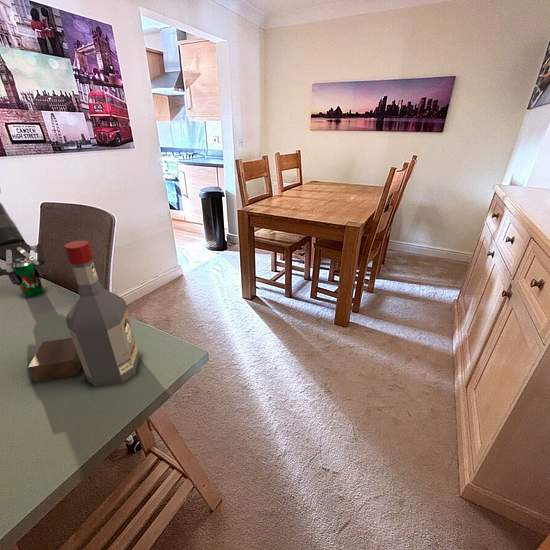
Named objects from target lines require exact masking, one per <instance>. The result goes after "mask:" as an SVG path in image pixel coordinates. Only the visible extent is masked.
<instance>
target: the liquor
mask: <svg viewBox="0 0 550 550" xmlns="http://www.w3.org/2000/svg"><path fill="white" fill-rule="evenodd" d="M64 250H65V253H66V256H67V259H68V262H69V264H70V265H71V269H72V271H73V274H74V277H75V281H76V284H77V288H78V290H77V293H78V296H77V298H76V300H75V301H74V303H73V304H72V306H71V307H70V309H69V311H68V312H67V314H66V318H65V324H66V326H67V328H68V331H69V333H70V338H72V339H73V342H74V345H75V347H76V350H77V353H78V356H79V358H80V361H81V364H82V369H83V372H84V374H85V377H86V379H87V381H88V382H89V383H90V384H92V385H93V386H94V387H100V386H107V385H114V384H122V383H125V381H127V380H129V379H130V378H132V377H134V375H135V374H136V372H137V368H138V367H137V366H138V363H139V359H140V355H139V349H138V347H137V342H136V339H135V335H134V331H133V326H132V322H131V318H130V315H129V310H128V307H127V302H126V301H125V299H124V298H123V297H121V296H119V295H118V294H116V293H113V292H112V291H109V290H108V289H106V288H104V287H103V284H102V283H101V282H100V279H99V275H98V273H97V270H96V269H97V268H96V267H95V263H94V255H93V252H92V249H91V246H90V242H89V241H88V240H83V239H82V240H74V241H70V242H67V243H65V244H64Z"/></svg>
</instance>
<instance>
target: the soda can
mask: <svg viewBox="0 0 550 550" xmlns="http://www.w3.org/2000/svg"><path fill="white" fill-rule="evenodd" d="M11 263H12V265H11V267H12V271H13V272H14V273H15V275H16V276H17V278H18V280H19V282H20V285H18V286H19V288H20V291H21V292H22V295H23V297H25V298H35V297H38V296H40V295H42V294H43V293H44V292H45V290H44V287H43V284H42V282H41V279H40V278H39V276H38V274H37V271H36V268H35V266H34V263H33V261H32V260H30V258H27V257H25V258H18V259H15V260H13V261H12V262H11Z"/></svg>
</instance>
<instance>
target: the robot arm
mask: <svg viewBox="0 0 550 550" xmlns="http://www.w3.org/2000/svg"><path fill="white" fill-rule="evenodd" d="M1 189H2V188H0V193H2V192H1V191H2V190H1ZM31 251H33V252H34V254H37V257H38V260H37V259H36V258H34V257H33V255H31V254H30V253H31ZM25 257H27V258H30V260H32V261H33V263H34V266H35V268H36V271H37V274H38V276H39V279H40V280H41V279H44V276H45V271H44V270H43V268H42V265H45V263H46V261H45V260H46V259H45V255H44V250H43V246H42V244H40V243H37V244H36V245H30V244H28V243H27V242H26V240H25V239H24V237H23V235H22V234H21V232H20V230H19V228H18V227H17V225H16V222H14V220H13V219H12V218H11V216H10V215H9V213H8V211H7V210H6V208H5V206H4V204H3V203H2V202H0V261H3V262H4V263H5V267H6V268H4V269H3V268H2V267H1V266H0V277H3V276H8V278H9V280H10V281H11V283H12V284H13V285H16V286H19V285H20V282H19V280H18V278H17V276H16V275H15V273H14V272H13V269H12V267H11V265H12V263H11V262H12V261H13V260H15V259H18V258H25Z"/></svg>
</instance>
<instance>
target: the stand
mask: <svg viewBox="0 0 550 550" xmlns="http://www.w3.org/2000/svg"><path fill="white" fill-rule="evenodd" d="M82 368H83V366H82V364H81V361H80V358H79V356H78V353H77V350H76V347H75V345H74V342H73V339H72V337H68V338H61V339H60V338H59V339H53V340H47V341H42V342H41V344H40V346H39V347H38V350H37V351H36V353H35V354H34V357H33V358H32V360H31V362H30V363H29V365H28V366H27V369H28V371H29V372H30V375H31V376H32V379H33V381H34V382H35V383H38V382H45V381H49V380H56V379H60V378H66V377H73V376H77V375H79V374H80V372H81V370H82Z"/></svg>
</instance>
